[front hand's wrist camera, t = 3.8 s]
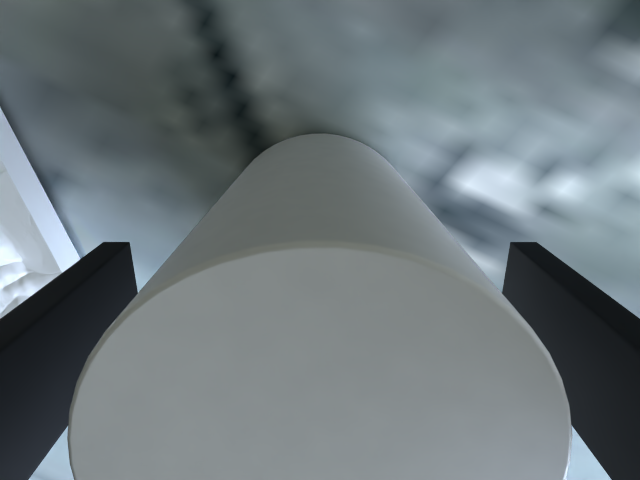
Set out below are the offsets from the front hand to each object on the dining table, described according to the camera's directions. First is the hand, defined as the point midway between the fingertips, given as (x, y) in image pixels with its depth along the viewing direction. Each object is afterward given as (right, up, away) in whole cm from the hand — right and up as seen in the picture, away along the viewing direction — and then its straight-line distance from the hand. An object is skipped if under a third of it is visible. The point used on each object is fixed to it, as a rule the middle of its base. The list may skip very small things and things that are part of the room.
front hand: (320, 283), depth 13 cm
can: (0, +2, +5) cm, 5 cm away
